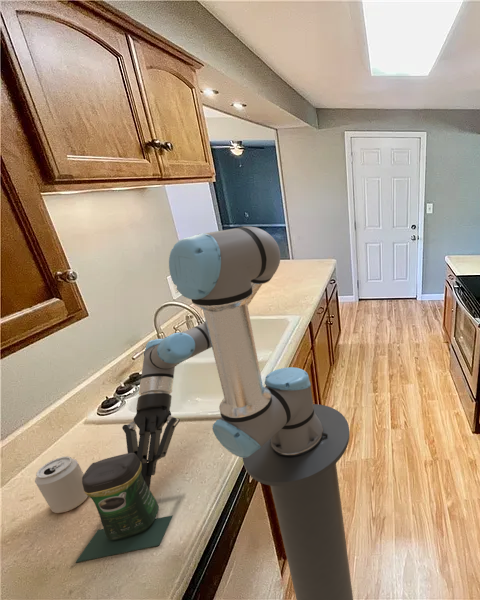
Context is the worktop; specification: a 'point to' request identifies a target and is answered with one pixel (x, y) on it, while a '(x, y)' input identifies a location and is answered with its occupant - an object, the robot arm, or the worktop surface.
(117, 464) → the coffee jar
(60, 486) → the can
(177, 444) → the worktop surface
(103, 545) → the mat
